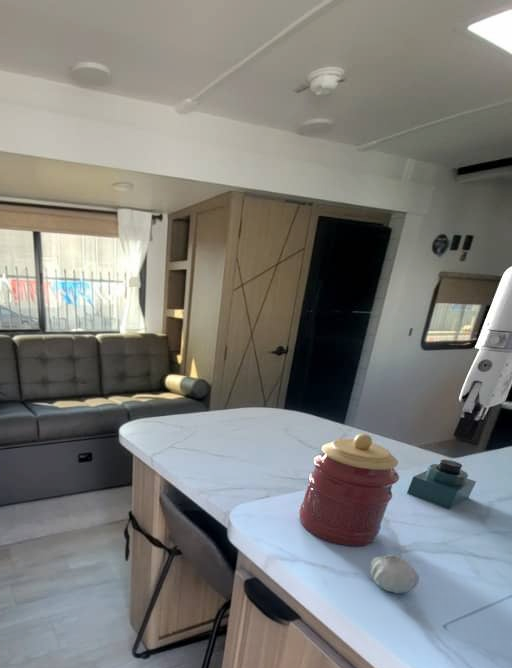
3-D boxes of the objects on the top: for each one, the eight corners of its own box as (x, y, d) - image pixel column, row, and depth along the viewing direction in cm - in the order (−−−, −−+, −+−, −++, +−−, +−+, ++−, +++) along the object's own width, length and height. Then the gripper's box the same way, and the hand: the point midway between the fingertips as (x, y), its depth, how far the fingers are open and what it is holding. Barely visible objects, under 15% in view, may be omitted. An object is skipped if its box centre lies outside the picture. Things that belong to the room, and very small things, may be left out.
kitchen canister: (393, 540, 70) (432, 445, 62) (335, 553, 65) (369, 452, 58) (335, 505, 81) (361, 419, 73) (282, 514, 76) (304, 424, 69)
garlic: (360, 585, 59) (371, 556, 56) (369, 568, 62) (380, 540, 60) (407, 606, 55) (421, 576, 53) (415, 587, 59) (428, 558, 56)
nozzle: (441, 467, 86) (445, 458, 86) (461, 473, 84) (465, 464, 83) (434, 470, 85) (437, 461, 84) (454, 477, 82) (458, 467, 81)
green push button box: (427, 483, 92) (437, 459, 90) (468, 498, 86) (480, 472, 84) (406, 493, 87) (416, 467, 84) (449, 509, 81) (461, 482, 78)
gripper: (516, 346, 66) (471, 450, 74) (543, 342, 74) (500, 437, 82) (462, 340, 72) (426, 438, 80) (493, 337, 80) (457, 426, 88)
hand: (464, 437), depth 81 cm, fingers closed
